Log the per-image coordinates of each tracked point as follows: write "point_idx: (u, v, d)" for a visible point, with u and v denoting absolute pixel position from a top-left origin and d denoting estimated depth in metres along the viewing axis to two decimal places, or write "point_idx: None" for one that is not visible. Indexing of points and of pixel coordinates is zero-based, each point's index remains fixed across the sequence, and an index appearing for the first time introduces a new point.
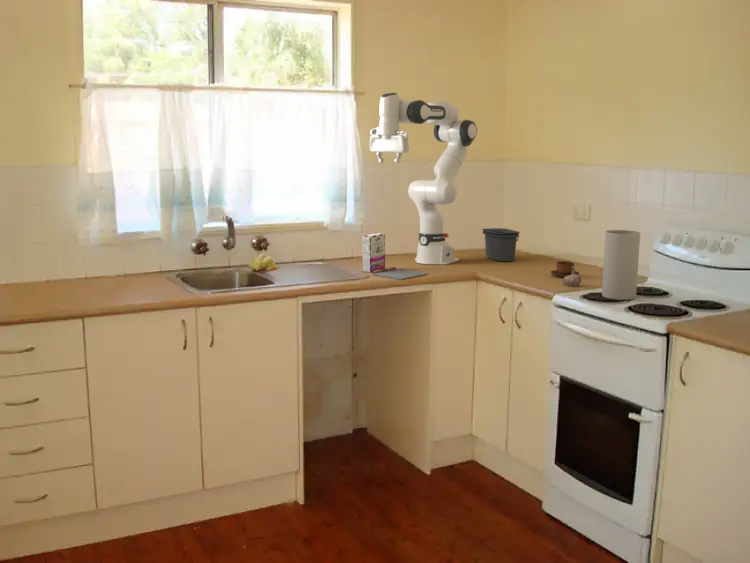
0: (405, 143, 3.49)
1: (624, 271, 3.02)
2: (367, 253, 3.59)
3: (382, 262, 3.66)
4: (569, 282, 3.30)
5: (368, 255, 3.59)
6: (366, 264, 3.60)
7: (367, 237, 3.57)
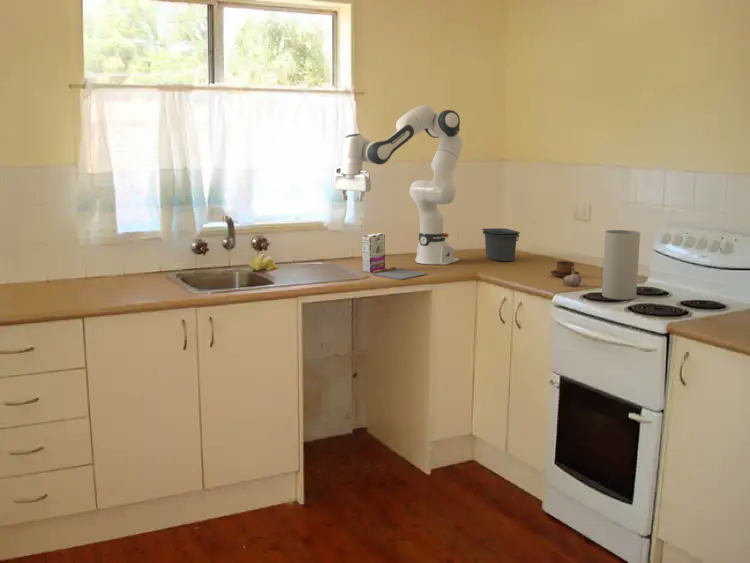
0: (367, 182, 3.63)
1: (624, 271, 3.02)
2: (367, 253, 3.59)
3: (382, 262, 3.66)
4: (569, 282, 3.30)
5: (368, 255, 3.59)
6: (366, 264, 3.60)
7: (367, 237, 3.57)
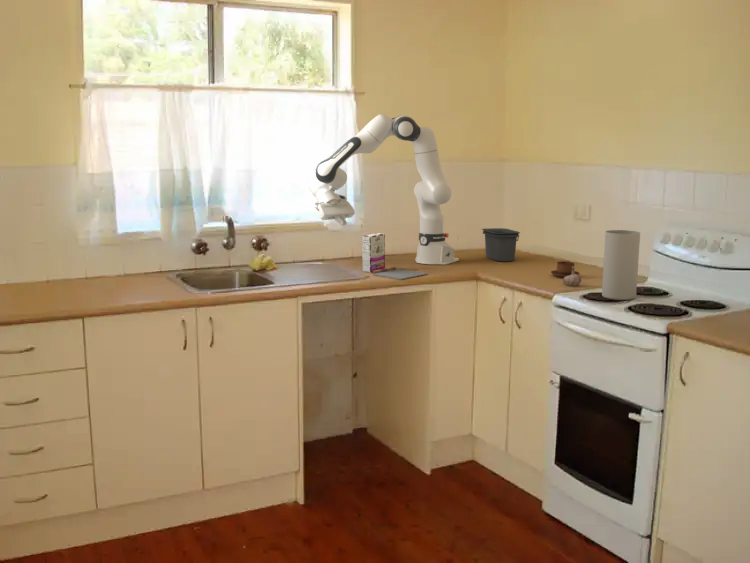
0: (319, 212, 3.70)
1: (624, 271, 3.02)
2: (367, 253, 3.59)
3: (382, 262, 3.66)
4: (569, 282, 3.30)
5: (368, 255, 3.59)
6: (366, 264, 3.60)
7: (367, 237, 3.57)
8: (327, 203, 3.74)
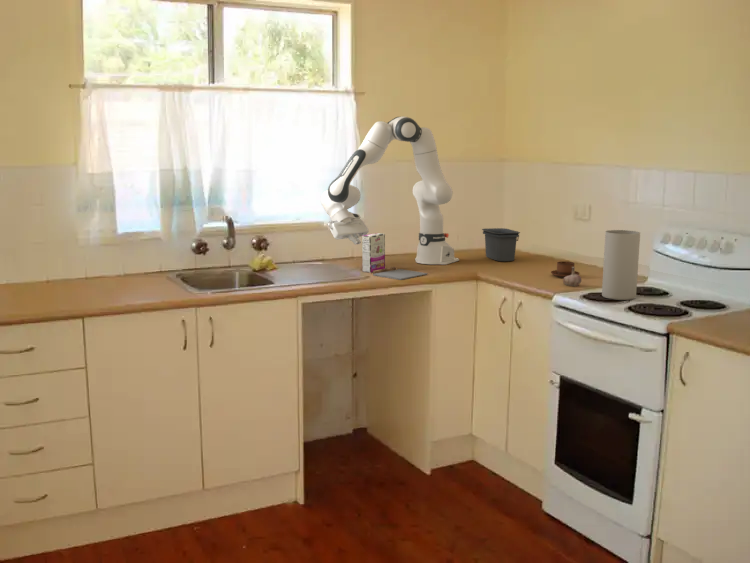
0: (332, 231, 3.66)
1: (624, 271, 3.02)
2: (367, 253, 3.59)
3: (382, 262, 3.66)
4: (569, 282, 3.30)
5: (368, 255, 3.59)
6: (366, 264, 3.60)
7: (367, 237, 3.57)
8: (341, 222, 3.70)
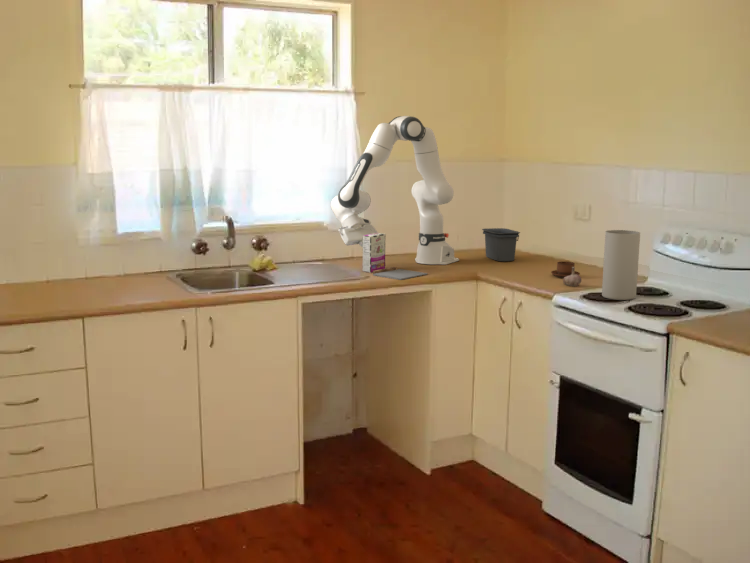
0: (343, 237, 3.62)
1: (624, 271, 3.02)
2: (368, 253, 3.58)
3: (382, 262, 3.66)
4: (569, 282, 3.30)
5: (368, 255, 3.59)
6: (366, 264, 3.60)
7: (367, 237, 3.57)
8: (351, 228, 3.65)
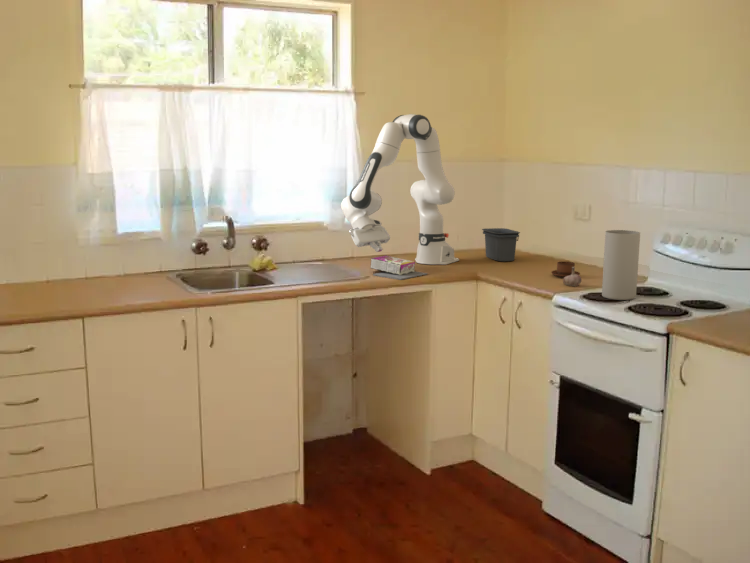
0: (354, 238, 3.57)
1: (624, 271, 3.02)
2: (386, 268, 3.54)
3: None
4: (569, 282, 3.30)
5: (384, 269, 3.54)
6: (377, 265, 3.56)
7: (398, 271, 3.50)
8: (362, 229, 3.61)
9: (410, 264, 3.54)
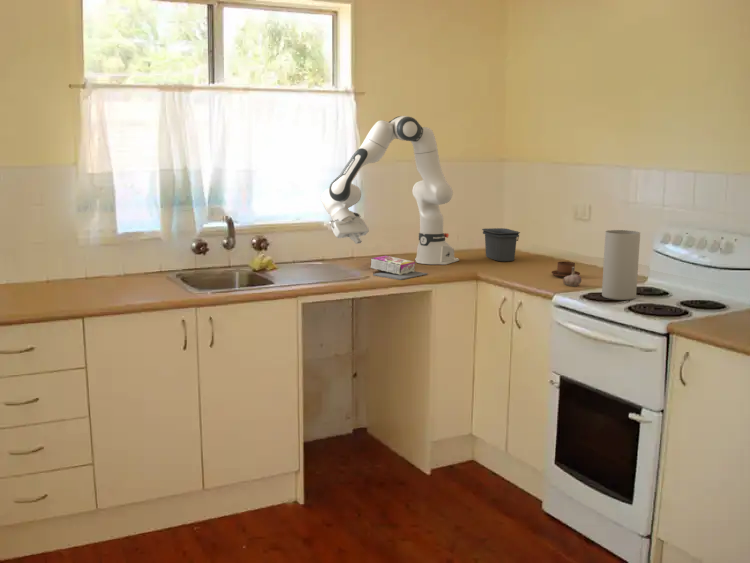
0: (334, 230, 3.65)
1: (624, 271, 3.02)
2: (386, 268, 3.54)
3: None
4: (569, 282, 3.30)
5: (384, 269, 3.54)
6: (377, 265, 3.56)
7: (398, 271, 3.50)
8: (342, 221, 3.69)
9: (410, 264, 3.54)
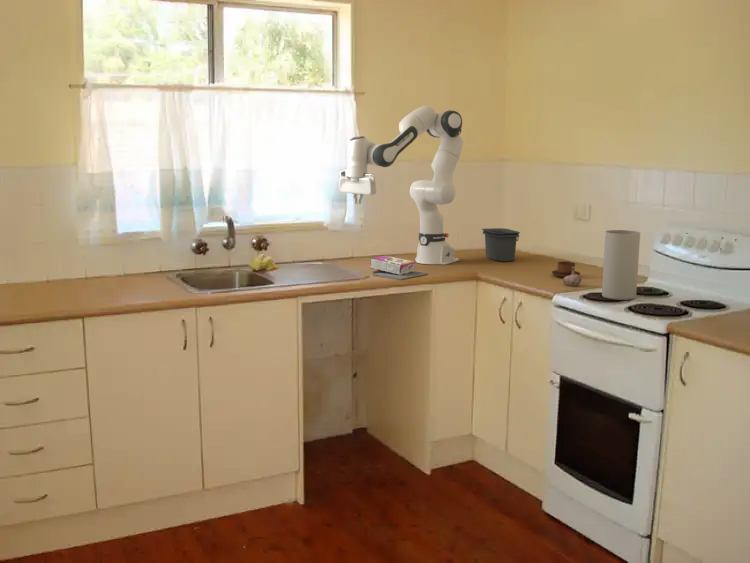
0: (372, 185, 3.61)
1: (624, 271, 3.02)
2: (386, 268, 3.54)
3: None
4: (569, 282, 3.30)
5: (384, 269, 3.54)
6: (377, 265, 3.56)
7: (398, 271, 3.50)
8: None
9: (410, 264, 3.54)
